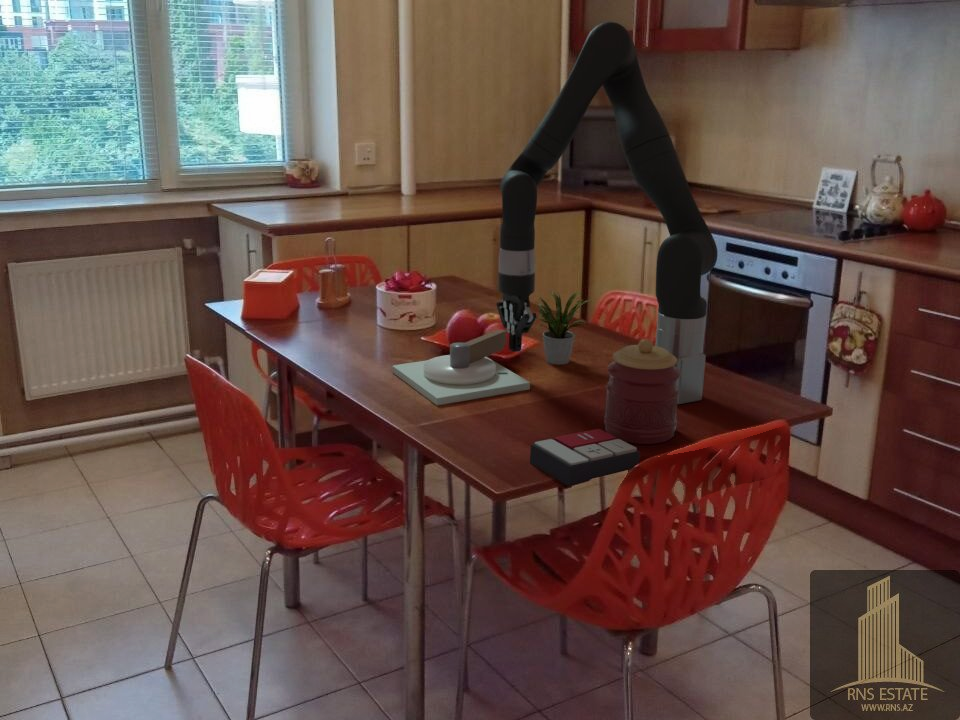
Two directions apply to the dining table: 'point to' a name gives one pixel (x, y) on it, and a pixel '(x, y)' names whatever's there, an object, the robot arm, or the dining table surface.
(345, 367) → the dining table surface
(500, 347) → the dial
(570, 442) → the calculator
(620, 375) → the canister
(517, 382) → the dial base
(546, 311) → the house plant
